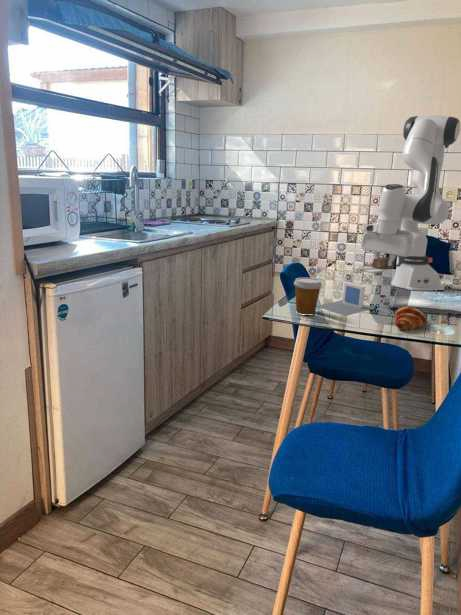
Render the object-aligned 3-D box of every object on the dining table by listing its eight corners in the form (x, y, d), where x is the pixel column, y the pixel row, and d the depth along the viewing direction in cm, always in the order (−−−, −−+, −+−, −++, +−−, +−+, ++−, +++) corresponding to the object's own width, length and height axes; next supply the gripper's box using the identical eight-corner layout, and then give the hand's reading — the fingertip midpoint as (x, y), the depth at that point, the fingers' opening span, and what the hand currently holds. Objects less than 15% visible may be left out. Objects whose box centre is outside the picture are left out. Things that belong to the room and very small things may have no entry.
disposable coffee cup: (322, 317, 174) (326, 283, 171) (296, 317, 173) (298, 283, 169) (313, 309, 183) (316, 277, 180) (288, 309, 182) (290, 277, 179)
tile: (345, 302, 192) (347, 282, 189) (362, 307, 186) (365, 286, 184) (342, 303, 190) (344, 282, 188) (359, 308, 185) (362, 286, 182)
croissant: (407, 326, 181) (399, 305, 182) (435, 318, 176) (427, 296, 176) (390, 339, 164) (382, 316, 164) (421, 331, 158) (412, 307, 158)
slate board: (344, 301, 196) (345, 299, 196) (375, 310, 186) (376, 308, 186) (314, 308, 185) (314, 306, 185) (345, 317, 175) (345, 315, 175)
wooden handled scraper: (398, 269, 196) (399, 259, 195) (371, 273, 185) (373, 262, 184) (382, 266, 201) (383, 256, 200) (355, 270, 190) (357, 259, 189)
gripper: (417, 231, 186) (412, 268, 190) (370, 225, 201) (366, 259, 204) (408, 232, 182) (403, 270, 186) (361, 225, 197) (356, 261, 200)
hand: (383, 264), depth 195 cm, fingers closed on wooden handled scraper, 3 cm apart
